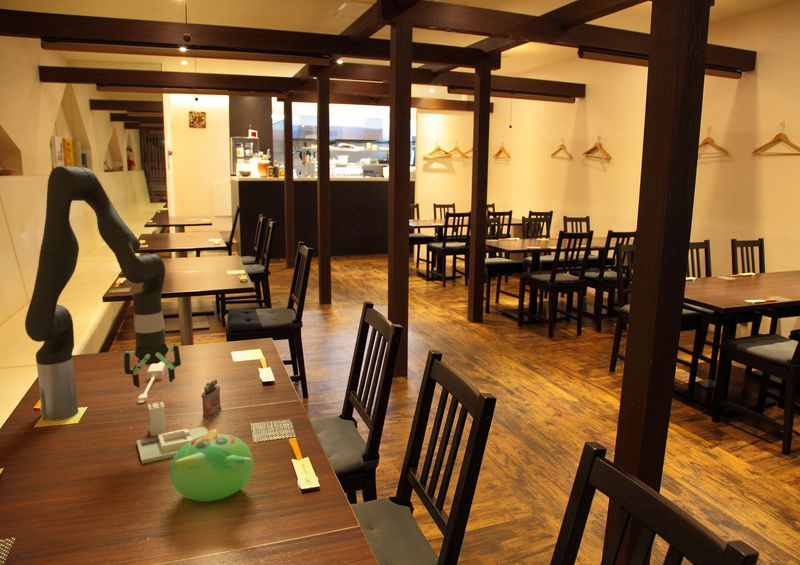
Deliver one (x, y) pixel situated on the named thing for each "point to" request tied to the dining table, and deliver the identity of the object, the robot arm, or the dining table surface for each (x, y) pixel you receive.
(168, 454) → the board
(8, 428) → the dining table surface
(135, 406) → the dining table surface
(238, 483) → the toy bird
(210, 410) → the lighter
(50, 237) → the robot arm
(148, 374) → the charging cable
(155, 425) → the plug
